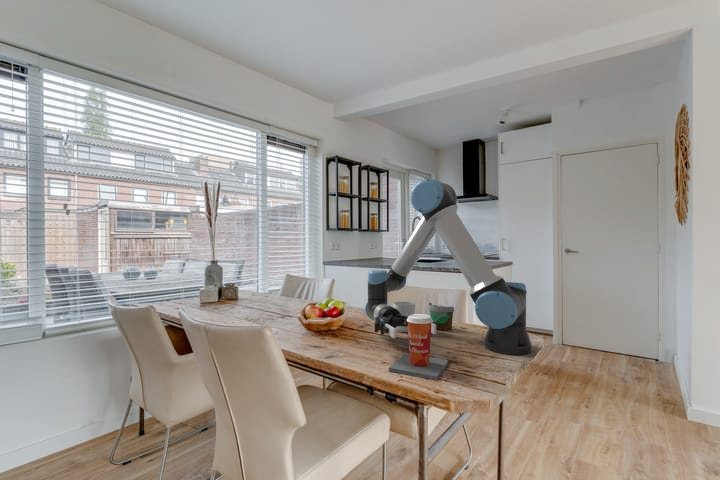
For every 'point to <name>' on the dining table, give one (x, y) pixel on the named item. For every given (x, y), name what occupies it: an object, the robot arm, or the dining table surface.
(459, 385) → the dining table surface
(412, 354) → the paper cup
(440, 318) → the food container
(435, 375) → the pad
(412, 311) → the mug
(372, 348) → the dining table surface
